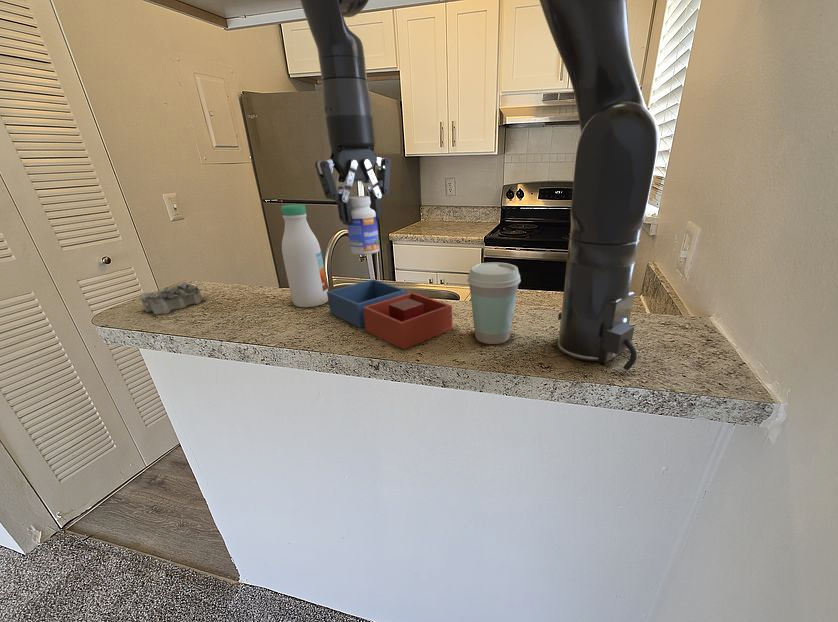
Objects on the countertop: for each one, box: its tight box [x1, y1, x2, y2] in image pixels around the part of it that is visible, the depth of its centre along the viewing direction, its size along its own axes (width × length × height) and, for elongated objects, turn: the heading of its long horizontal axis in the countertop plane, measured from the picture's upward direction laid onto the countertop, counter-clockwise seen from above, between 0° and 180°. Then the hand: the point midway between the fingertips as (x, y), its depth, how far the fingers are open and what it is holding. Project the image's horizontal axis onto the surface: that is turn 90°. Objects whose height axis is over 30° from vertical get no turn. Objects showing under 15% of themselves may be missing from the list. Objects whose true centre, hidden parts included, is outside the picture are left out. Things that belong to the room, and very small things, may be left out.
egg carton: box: [138, 281, 203, 315], centre depth 88 cm, size 11×8×4 cm
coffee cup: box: [466, 261, 522, 345], centre depth 67 cm, size 8×8×12 cm
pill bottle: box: [346, 195, 380, 256], centre depth 74 cm, size 5×5×10 cm
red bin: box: [363, 291, 453, 350], centre depth 72 cm, size 11×11×5 cm
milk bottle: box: [280, 203, 329, 308], centre depth 84 cm, size 8×8×20 cm
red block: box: [389, 298, 424, 322], centre depth 72 cm, size 4×4×4 cm
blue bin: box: [327, 279, 407, 329], centre depth 81 cm, size 11×11×5 cm
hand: (362, 221), depth 74 cm, fingers closed on pill bottle, 5 cm apart
